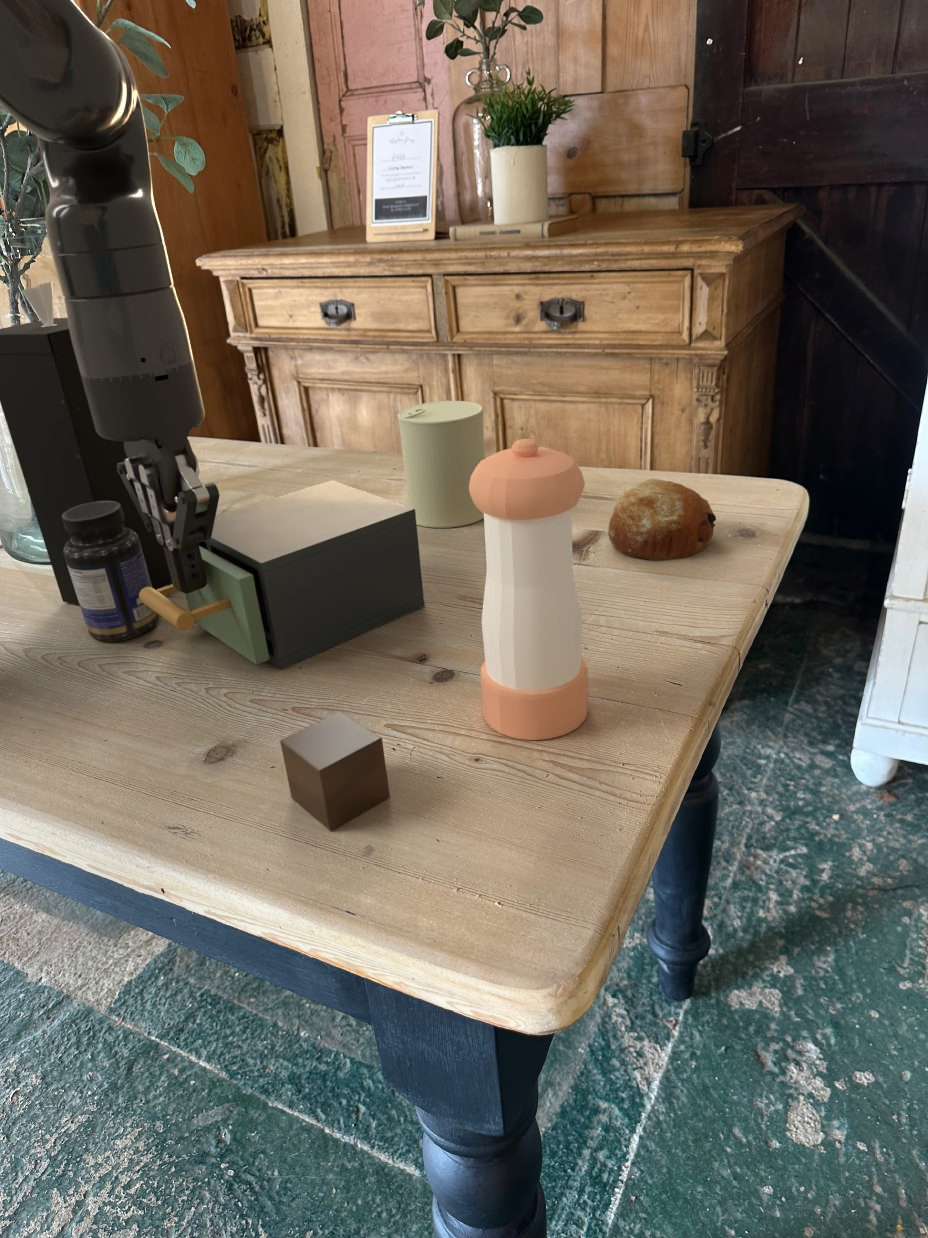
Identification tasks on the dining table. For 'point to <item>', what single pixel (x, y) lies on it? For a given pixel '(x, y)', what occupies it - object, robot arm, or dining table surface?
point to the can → (442, 460)
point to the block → (335, 769)
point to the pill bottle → (107, 571)
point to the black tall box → (62, 437)
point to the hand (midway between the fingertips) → (191, 588)
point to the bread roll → (661, 521)
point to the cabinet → (325, 564)
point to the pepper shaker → (530, 593)
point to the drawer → (221, 605)
